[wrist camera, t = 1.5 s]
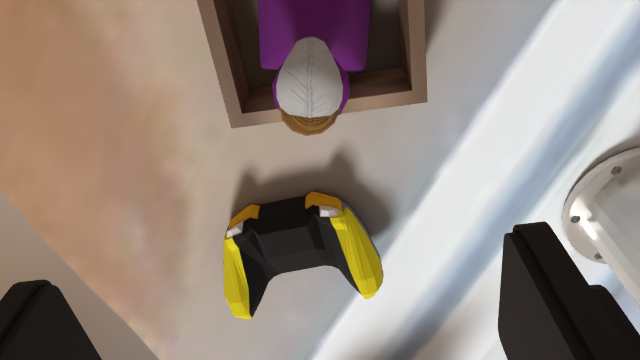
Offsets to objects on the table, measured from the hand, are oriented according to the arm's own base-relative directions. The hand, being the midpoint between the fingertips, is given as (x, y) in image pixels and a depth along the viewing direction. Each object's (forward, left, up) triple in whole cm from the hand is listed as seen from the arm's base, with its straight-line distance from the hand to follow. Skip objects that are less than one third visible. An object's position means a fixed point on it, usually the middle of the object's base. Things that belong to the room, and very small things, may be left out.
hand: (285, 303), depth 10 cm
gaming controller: (+5, +21, -30) cm, 37 cm away
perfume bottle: (0, 0, -29) cm, 29 cm away
